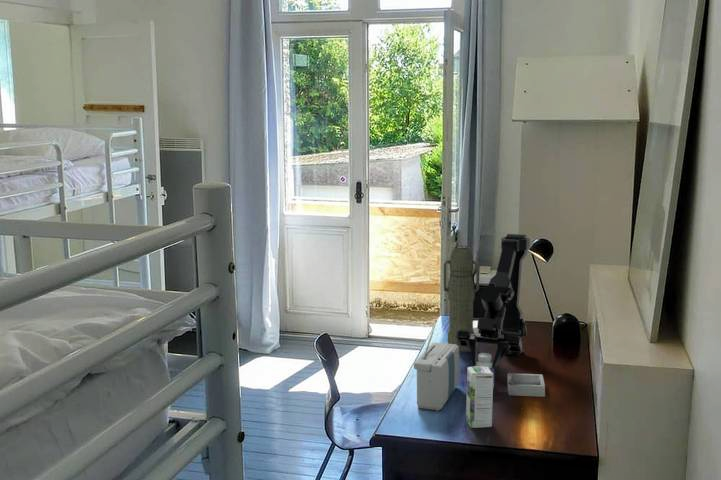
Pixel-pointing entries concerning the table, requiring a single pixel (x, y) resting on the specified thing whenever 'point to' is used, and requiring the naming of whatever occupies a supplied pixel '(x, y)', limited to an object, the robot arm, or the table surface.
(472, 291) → the thermos
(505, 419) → the table surface
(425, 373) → the stereo radio cassette player
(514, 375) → the housing
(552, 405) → the table surface
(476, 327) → the white round tub
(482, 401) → the syrup box
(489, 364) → the pill bottle
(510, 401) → the table surface
